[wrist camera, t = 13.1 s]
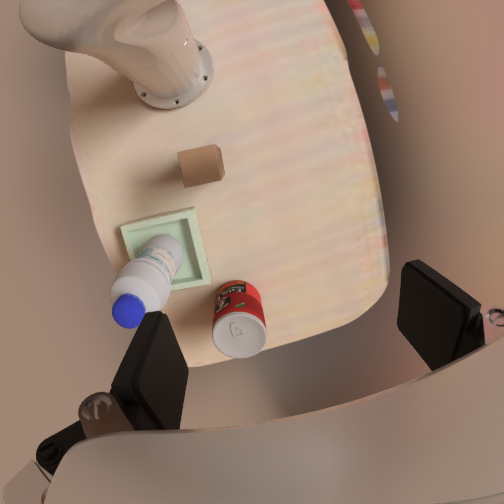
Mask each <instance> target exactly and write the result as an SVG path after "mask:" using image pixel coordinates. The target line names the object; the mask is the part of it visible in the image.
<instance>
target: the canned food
mask: <svg viewBox="0 0 504 504" xmlns="http://www.w3.org/2000/svg"><path fill="white" fill-rule="evenodd" d="M212 339H213V342H214V344H215V346H216V348H217V349H218V350H219V351H220V352H222V353H223V354H225V355H227V356H229V357H233V358H247V357H251V356H253V355H255V354H257V353H259V352H260V351H261V350H262V349H263V347H264V346H265V343H266V340H267V331H266V324H265V319H264V314H263V308H262V303H261V298H260V295H259V293H258V291H257V290H256V289H255V288H254V287H253V286H252V285H251V284H249V283H247V282H244V281H238V280H237V281H231V282H228V283H226V284H225V285H224V286H222V288H221V289H220V290H219V291H218V293H217V296H216V302H215V310H214V318H213V326H212Z"/></svg>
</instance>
